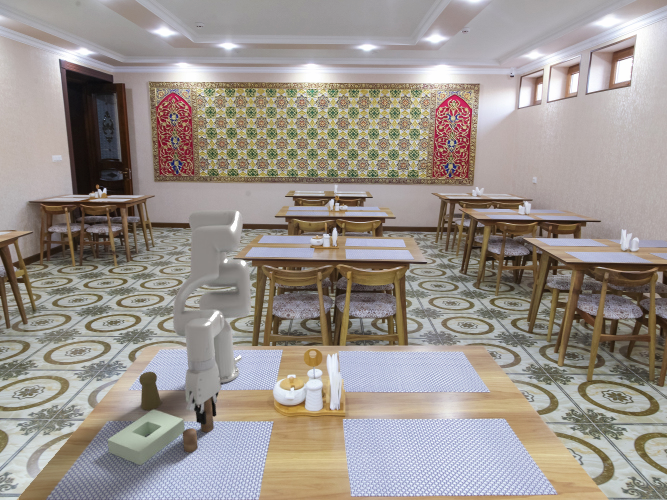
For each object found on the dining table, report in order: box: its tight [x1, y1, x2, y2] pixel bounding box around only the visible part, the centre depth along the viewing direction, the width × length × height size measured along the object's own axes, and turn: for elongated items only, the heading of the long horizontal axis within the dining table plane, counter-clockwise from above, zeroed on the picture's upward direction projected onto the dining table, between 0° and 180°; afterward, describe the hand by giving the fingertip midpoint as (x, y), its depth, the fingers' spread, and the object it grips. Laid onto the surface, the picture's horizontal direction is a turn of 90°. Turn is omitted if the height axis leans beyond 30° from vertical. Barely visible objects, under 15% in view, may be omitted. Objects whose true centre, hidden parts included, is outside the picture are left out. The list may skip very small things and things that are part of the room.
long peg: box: [198, 398, 215, 433], centre depth 135 cm, size 4×4×12 cm
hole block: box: [107, 409, 186, 466], centre depth 131 cm, size 16×12×4 cm
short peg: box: [182, 427, 198, 454], centre depth 127 cm, size 4×4×5 cm
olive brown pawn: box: [138, 371, 162, 411], centre depth 148 cm, size 6×6×11 cm
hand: (206, 418), depth 136 cm, fingers closed on long peg, 3 cm apart
